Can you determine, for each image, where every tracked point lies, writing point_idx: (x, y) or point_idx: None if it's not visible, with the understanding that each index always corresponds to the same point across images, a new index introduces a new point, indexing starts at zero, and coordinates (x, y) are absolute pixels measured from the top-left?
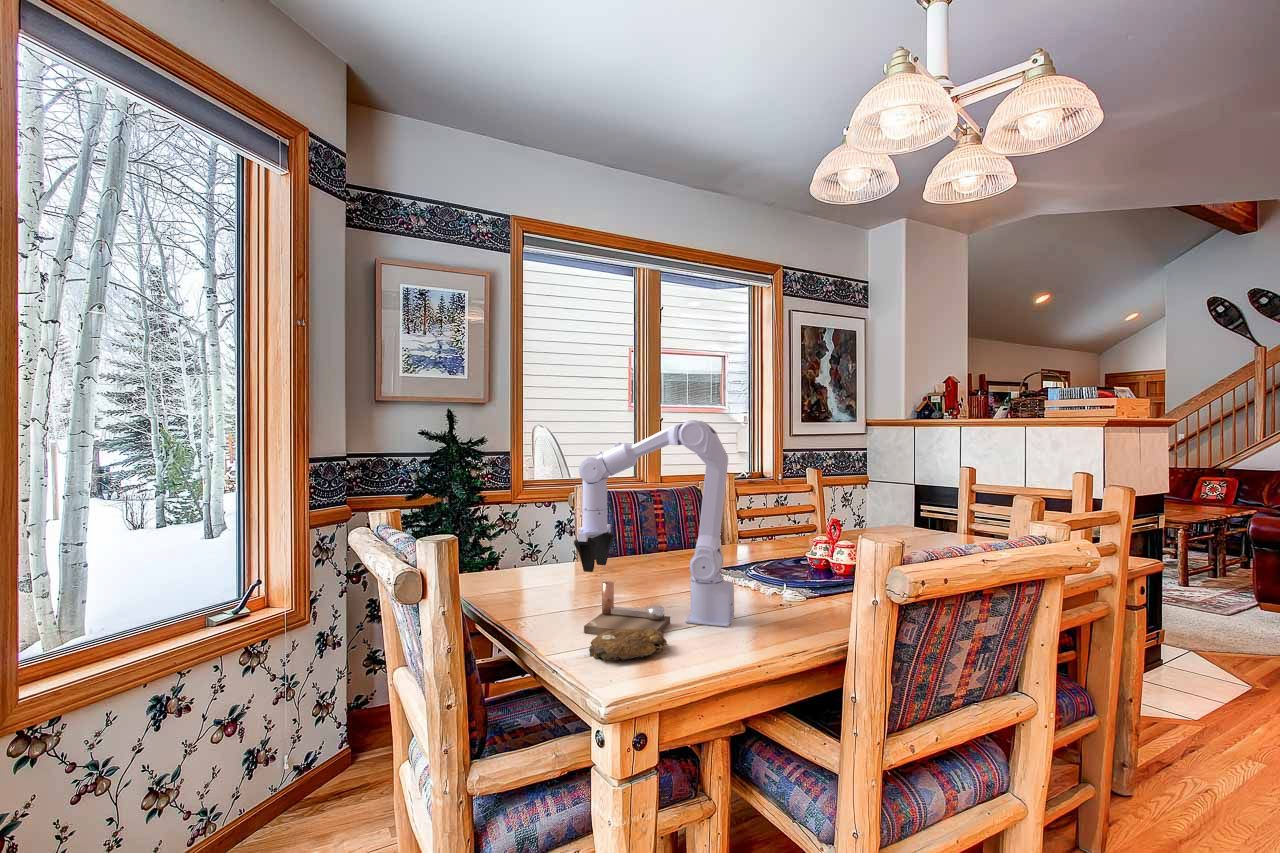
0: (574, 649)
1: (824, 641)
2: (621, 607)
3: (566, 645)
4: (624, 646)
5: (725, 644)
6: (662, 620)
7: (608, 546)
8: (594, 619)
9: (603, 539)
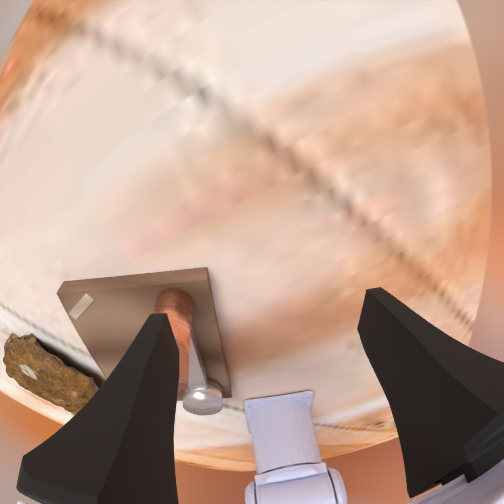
0: (4, 305)
1: (244, 468)
2: (191, 343)
3: (3, 284)
4: (31, 391)
5: (177, 438)
6: None
7: (398, 430)
8: (109, 292)
9: (427, 454)
